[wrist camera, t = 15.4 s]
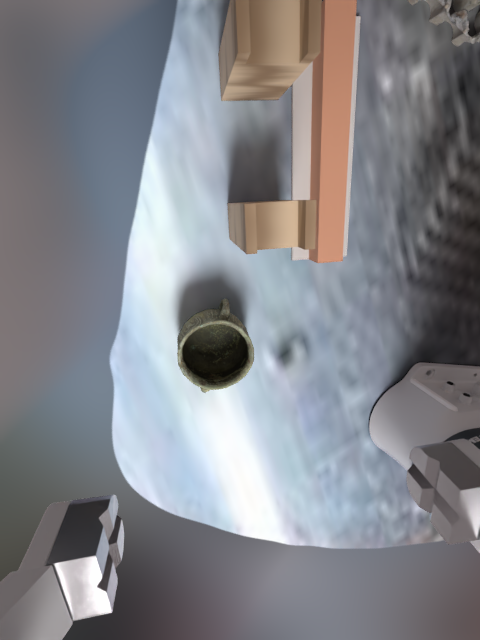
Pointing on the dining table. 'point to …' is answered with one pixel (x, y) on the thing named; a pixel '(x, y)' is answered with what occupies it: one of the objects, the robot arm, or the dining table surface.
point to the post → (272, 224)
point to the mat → (303, 140)
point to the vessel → (214, 349)
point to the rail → (331, 127)
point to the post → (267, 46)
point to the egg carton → (455, 18)
